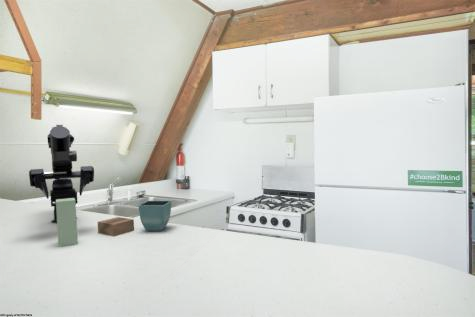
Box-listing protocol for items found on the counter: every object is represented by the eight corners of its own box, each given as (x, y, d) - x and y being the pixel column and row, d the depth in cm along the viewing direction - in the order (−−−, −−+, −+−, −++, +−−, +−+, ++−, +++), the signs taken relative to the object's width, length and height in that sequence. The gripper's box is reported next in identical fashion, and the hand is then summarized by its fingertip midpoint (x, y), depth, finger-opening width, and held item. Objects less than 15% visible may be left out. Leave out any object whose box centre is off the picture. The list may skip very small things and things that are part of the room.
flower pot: (173, 226, 121) (172, 200, 121) (165, 232, 113) (164, 205, 112) (148, 226, 122) (147, 200, 122) (138, 232, 114) (137, 205, 113)
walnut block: (98, 234, 115) (97, 221, 114) (118, 228, 121) (117, 216, 121) (114, 237, 110) (113, 224, 110) (134, 231, 117) (133, 219, 117)
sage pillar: (58, 242, 105) (55, 199, 104) (76, 239, 107) (74, 197, 107) (58, 246, 101) (56, 202, 100) (77, 244, 103) (75, 200, 102)
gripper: (27, 143, 109) (27, 182, 100) (92, 141, 118) (97, 177, 109) (30, 167, 116) (30, 205, 107) (90, 164, 125) (96, 199, 116)
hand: (64, 196), depth 110 cm, fingers open, 9 cm apart
